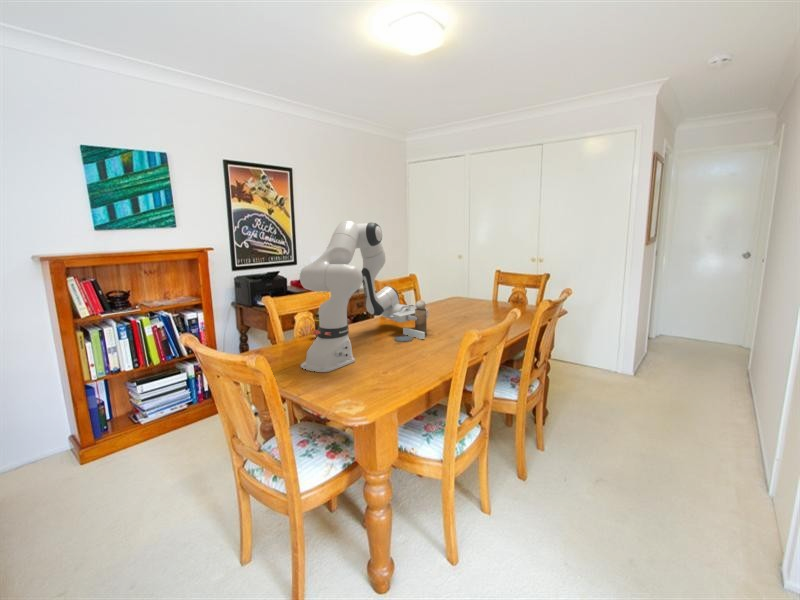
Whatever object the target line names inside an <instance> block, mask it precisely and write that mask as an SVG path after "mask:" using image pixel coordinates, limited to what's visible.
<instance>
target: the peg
mask: <svg viewBox="0 0 800 600" xmlns="http://www.w3.org/2000/svg"><path fill="white" fill-rule="evenodd" d="M415 305H416V308H417V309H415V316H417V317H418V320H416V321H415V320H414V330H418V331H421V332H425V335H426V336H427V333H428V331H427V325H428V324H427V318H426V309H427V308H426V305H427V304H426V302H425V301H424V300H423V299H420V300H417V301H416V302H415Z"/></svg>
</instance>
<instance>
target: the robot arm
mask: <svg viewBox="0 0 800 600" xmlns="http://www.w3.org/2000/svg"><path fill="white" fill-rule="evenodd" d="M382 240H383V232H382V228H381V226H380V225H379V224H378V223H377V222H368V223H366V222H365V223H364V222H363V223H356V222H354V221H352V220H346V219H345V220H342V221H340V223H339V224H338V225H337V227H336V228H335V229H334V231H333V233H332V235H331V238H330V241H329V243H328V245H327V247H326V249H325V251H324V252H323V253H322V254H321V255H320V256H319V257H318V258H317V259H315V260H314V261H313V262H311V263H309V264H307V265H305V266H303V268H301V271H300V272H299V282H300V284H301V286H302V287H303V289H306V290H309V291H312V292H321V293H322V292H325V293H329V292H330V298H329V299H328V300H326V301H325V300H324V302H323V303H321V304H320V306H319V307H318V313H319V325H320V326H319V327H318V330H315V329H313V330H312V335H314V336H315V335H317V338H316V339H314V341H313V343H311V345H310V347H309V348H308V350H307V351H306V357H305V358H306V359H305V361H304V362H301V364H300V368H301V369H302V368H303V369H302V370H305V369H306V371H309V372H310V371H311V372H314V371H315V372H317V373H330V372H332V371H335V370H338V369H340V368H342V367H345V366H347V365H349V364H352V363H355V362H356V358H355V357H354V355H353V350H352V343H351V342H352V341H351V340H350V337H349V333H350V332H349V324H348V306H349V302H350V299H351V297H352V296H353V294H355V293H356V292H357V291H358V290H360V288H361V286H362V287H363V293H364V298H365V299H364V301H365V309H366V312H367V313H368V314H370V315H372V316H375V317H378V316H381V317H383V318H385V319H389V320H392V321H394V322H396V323H407V322H410V321H414V322H415V321H416V320H418V317H417V316H415V309H417V308H416V304H411V305H410V304H409V305H408V304H401V303H400V297H399V296H400V295H399V293H398V290H397V289H395V288H394V287H392V286H389V285H386V286H384V287H383V288H382V289H380V290H379V291H377V292H376V288H375V287H376V286H375V280H376V278H377V276H378V274H379V273H380V271H381V270H383V267H384V266H385V264H386V252H385V250H384V247H383V244H382ZM356 249H359V251H360V253H361V255H360V256H361V258H362V269H360V268H359V267H358V266H356V265H351V264H350V263H351V262H352V260H353V258H354V256H355V255H354V254H355V252H356ZM425 309H426V319H428V318H429V309H428V308H425ZM315 372H314V373H315Z"/></svg>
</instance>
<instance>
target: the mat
mask: <svg viewBox="0 0 800 600" xmlns="http://www.w3.org/2000/svg"><path fill="white" fill-rule="evenodd" d="M393 340H394V341H395V342H397V343H409V341H410V342H412V340H413V341H414V337H411V336H407V335H399V336H398V335H397V336H395V337H394V339H393Z"/></svg>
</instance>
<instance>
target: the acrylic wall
mask: <svg viewBox="0 0 800 600" xmlns="http://www.w3.org/2000/svg"><path fill="white" fill-rule="evenodd" d="M402 332H403V333H402V335H403V336H407V335H408V336H412V337H413V338H414V337H416V338H415V339H418V338H419V339H418V340H421V339H425V340H426V336H425V332H421V331H418V330H415V328H410V327H406V326H404V327H402Z"/></svg>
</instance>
